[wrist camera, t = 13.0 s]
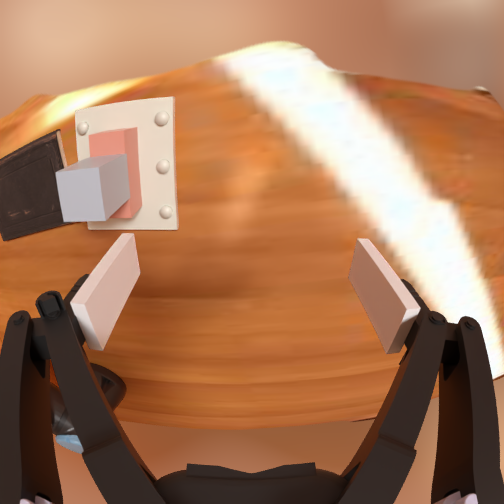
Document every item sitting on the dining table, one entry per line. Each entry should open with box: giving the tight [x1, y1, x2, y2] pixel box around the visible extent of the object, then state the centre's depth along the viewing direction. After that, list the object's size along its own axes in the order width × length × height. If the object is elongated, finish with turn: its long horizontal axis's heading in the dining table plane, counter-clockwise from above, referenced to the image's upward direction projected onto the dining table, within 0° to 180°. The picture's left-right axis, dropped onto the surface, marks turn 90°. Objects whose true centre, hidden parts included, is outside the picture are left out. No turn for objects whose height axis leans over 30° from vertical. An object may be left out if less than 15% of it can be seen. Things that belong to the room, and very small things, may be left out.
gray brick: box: [55, 154, 130, 222], centre depth 30 cm, size 6×6×8 cm
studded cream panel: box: [75, 97, 179, 230], centre depth 36 cm, size 16×20×6 cm
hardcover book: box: [0, 129, 74, 241], centre depth 39 cm, size 16×23×2 cm
